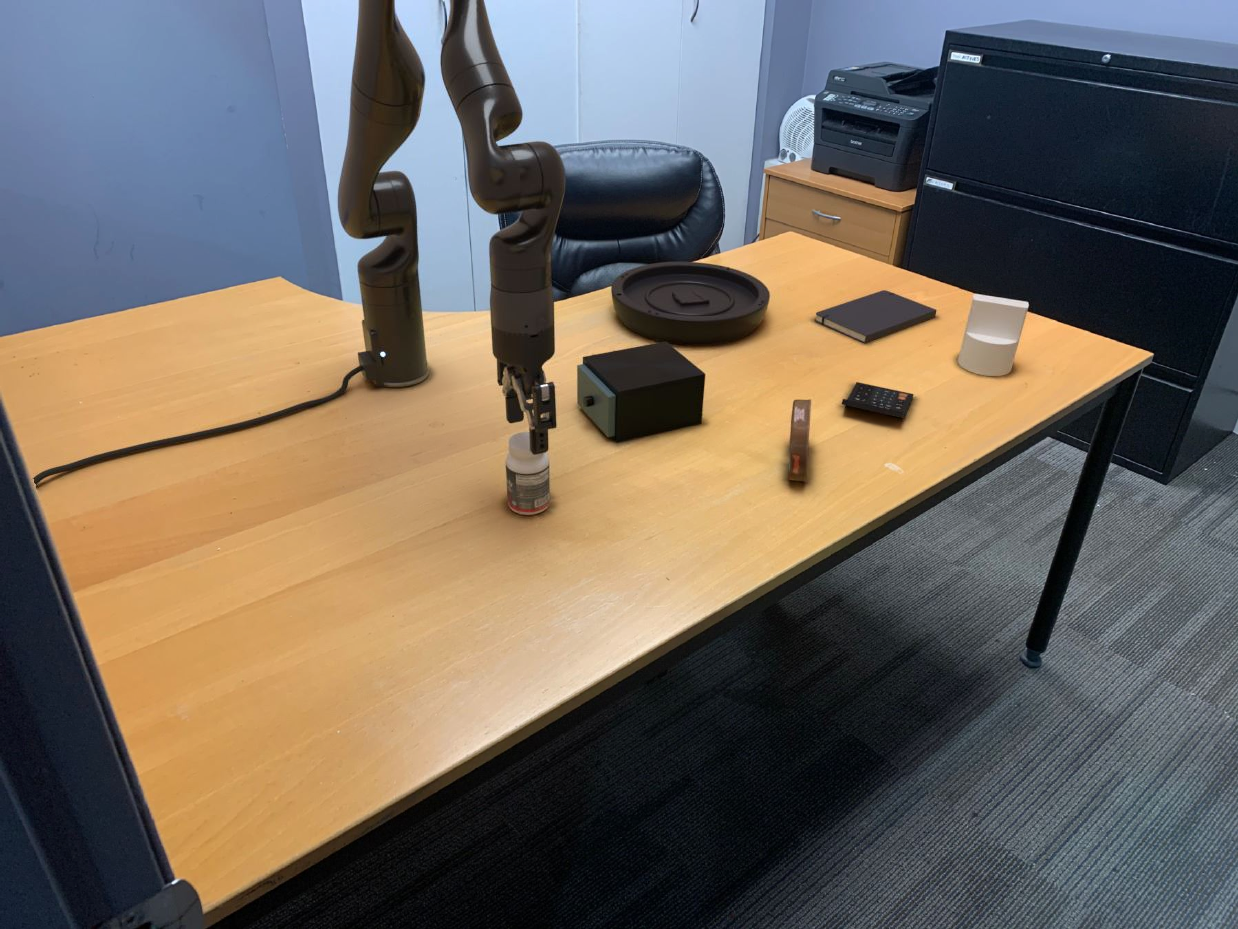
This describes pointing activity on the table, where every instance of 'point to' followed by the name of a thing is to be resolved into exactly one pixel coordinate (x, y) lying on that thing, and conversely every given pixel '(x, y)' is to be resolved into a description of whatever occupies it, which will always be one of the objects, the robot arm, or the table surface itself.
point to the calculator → (879, 399)
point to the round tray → (689, 302)
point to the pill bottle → (526, 477)
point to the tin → (799, 440)
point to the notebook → (874, 315)
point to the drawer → (596, 399)
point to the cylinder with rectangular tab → (992, 335)
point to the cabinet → (650, 389)
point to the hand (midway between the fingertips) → (527, 436)
